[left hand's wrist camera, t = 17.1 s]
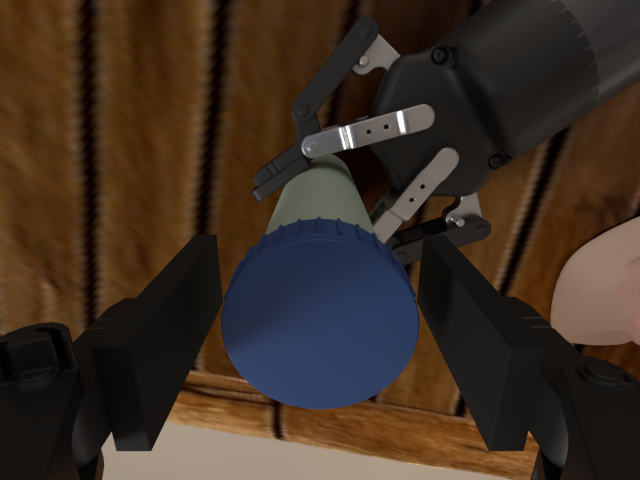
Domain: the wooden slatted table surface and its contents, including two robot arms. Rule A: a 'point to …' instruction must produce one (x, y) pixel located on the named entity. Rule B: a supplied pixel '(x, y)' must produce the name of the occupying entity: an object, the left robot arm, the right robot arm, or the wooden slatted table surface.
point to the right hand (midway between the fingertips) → (284, 230)
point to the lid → (320, 315)
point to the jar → (321, 196)
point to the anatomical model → (601, 290)
